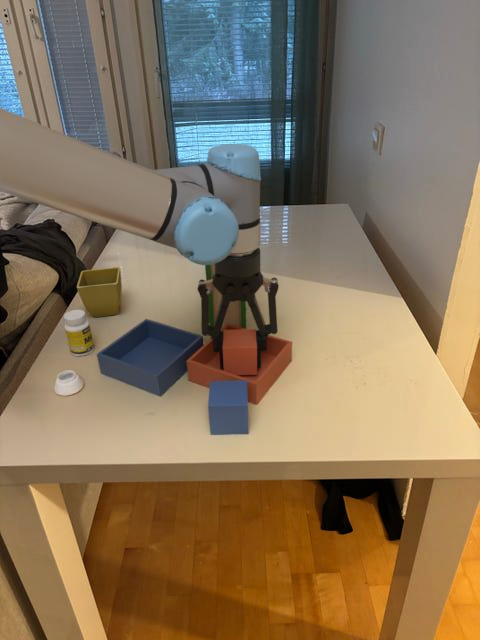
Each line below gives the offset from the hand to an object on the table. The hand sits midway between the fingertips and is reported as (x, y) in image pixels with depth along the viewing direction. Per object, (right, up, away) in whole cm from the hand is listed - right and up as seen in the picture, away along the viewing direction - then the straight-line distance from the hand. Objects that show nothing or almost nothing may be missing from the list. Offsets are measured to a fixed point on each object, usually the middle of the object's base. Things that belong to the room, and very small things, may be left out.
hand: (240, 363), depth 86 cm
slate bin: (-17, 0, +3) cm, 17 cm away
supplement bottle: (-32, +2, +8) cm, 33 cm away
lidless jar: (-31, -4, -2) cm, 31 cm away
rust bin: (0, -1, +1) cm, 2 cm away
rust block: (0, 0, 0) cm, 0 cm away
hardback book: (-3, +8, +17) cm, 19 cm away
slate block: (-2, -8, -11) cm, 14 cm away
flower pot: (-31, +10, +22) cm, 39 cm away
